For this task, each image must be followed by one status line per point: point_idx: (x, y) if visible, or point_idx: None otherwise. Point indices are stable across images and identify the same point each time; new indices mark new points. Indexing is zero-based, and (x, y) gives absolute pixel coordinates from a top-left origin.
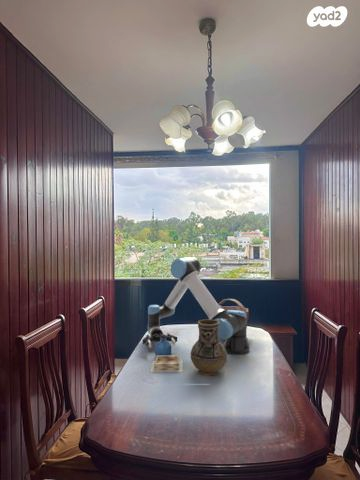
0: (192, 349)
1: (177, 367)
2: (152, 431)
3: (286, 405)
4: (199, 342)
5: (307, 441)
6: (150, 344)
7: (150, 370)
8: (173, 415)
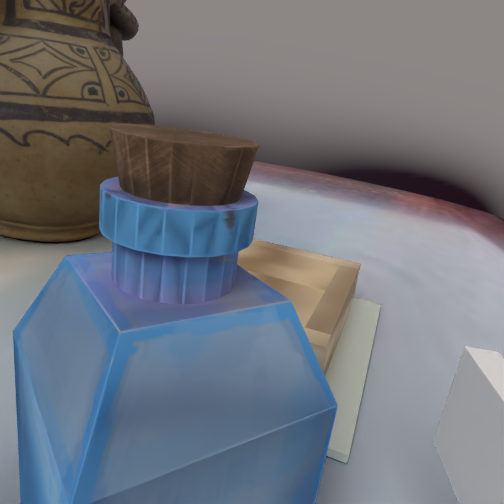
0: (140, 101)
1: None
2: (364, 192)
3: None
4: (114, 46)
5: None
6: (467, 380)
7: (377, 312)
8: (315, 194)
